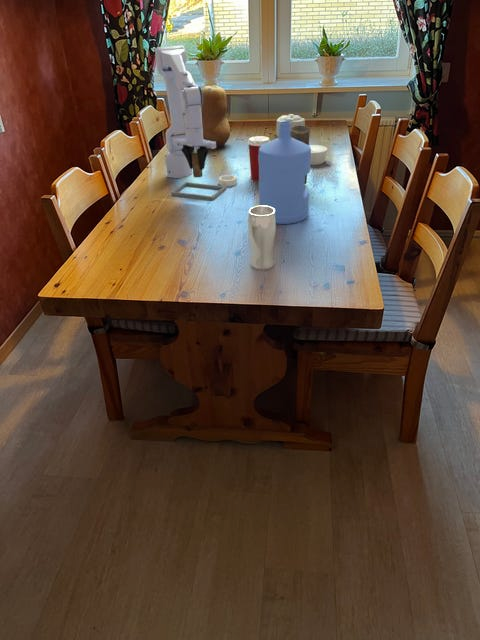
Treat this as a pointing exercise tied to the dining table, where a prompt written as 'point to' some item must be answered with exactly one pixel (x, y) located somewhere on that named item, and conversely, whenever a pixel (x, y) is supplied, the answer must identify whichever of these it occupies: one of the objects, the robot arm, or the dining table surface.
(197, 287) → the dining table surface
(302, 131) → the brown rounded cylinder
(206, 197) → the tray
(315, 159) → the ramekin
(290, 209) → the water jug
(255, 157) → the coffee cup
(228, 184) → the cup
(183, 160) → the robot arm
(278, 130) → the lumpy-topped squat cylinder
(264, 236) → the beer glass
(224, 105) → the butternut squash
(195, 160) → the dowel
